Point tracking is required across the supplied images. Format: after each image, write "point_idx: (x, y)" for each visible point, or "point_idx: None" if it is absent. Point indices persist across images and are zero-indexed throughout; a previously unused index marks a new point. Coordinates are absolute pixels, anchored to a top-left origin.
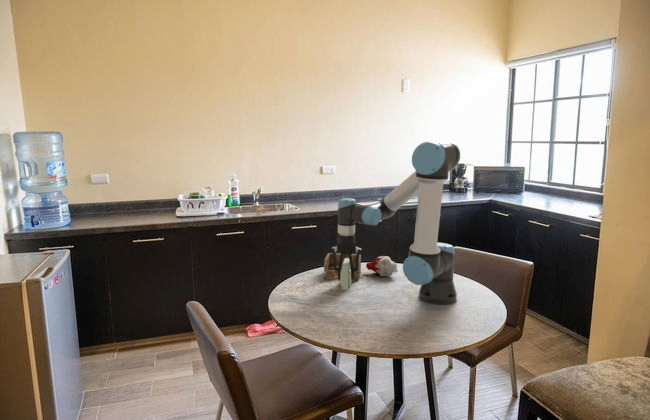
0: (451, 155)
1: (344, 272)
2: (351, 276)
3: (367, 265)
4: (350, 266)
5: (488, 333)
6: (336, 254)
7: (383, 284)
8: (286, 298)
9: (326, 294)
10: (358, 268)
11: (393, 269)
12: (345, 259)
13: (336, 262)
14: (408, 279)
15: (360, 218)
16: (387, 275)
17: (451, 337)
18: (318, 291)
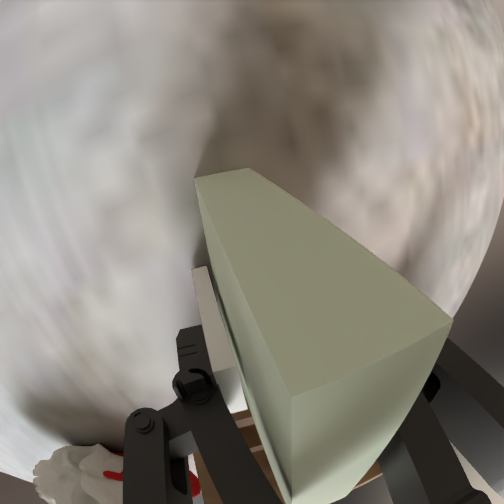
0: None
1: (299, 244)
2: (201, 340)
3: (191, 485)
4: (242, 443)
5: None
6: (370, 476)
7: (24, 373)
8: (477, 9)
9: (345, 38)
10: (196, 457)
11: (41, 472)
12: (342, 492)
13: (450, 397)
14: None
15: None
16: (74, 448)
17: None
18: (404, 94)
